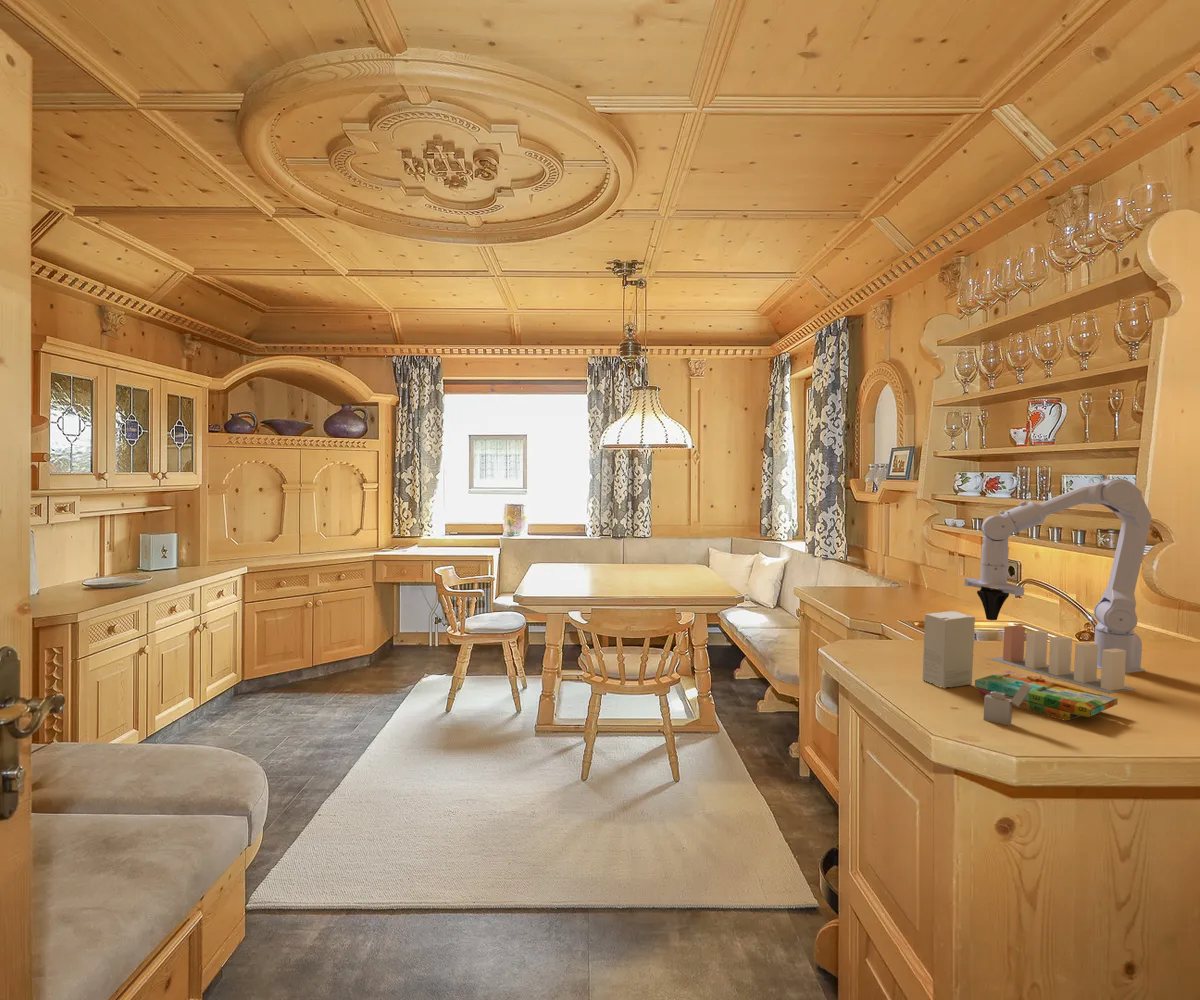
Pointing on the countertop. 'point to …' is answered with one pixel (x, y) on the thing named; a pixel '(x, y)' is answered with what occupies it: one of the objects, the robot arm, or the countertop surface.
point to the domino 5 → (1113, 669)
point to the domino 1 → (1013, 643)
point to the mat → (1061, 676)
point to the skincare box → (948, 649)
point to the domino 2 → (1036, 649)
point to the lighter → (1003, 705)
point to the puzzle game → (1046, 695)
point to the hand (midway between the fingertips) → (991, 619)
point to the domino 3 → (1060, 655)
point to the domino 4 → (1085, 662)
